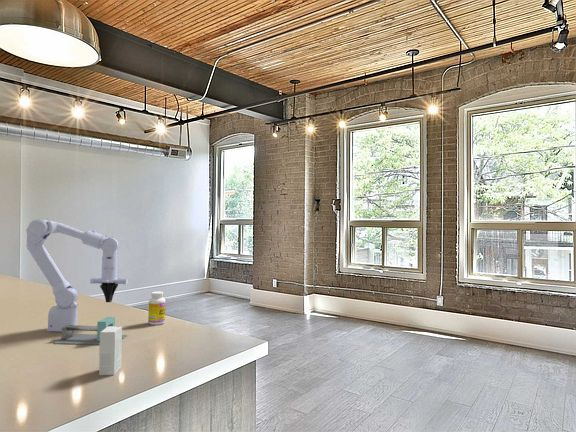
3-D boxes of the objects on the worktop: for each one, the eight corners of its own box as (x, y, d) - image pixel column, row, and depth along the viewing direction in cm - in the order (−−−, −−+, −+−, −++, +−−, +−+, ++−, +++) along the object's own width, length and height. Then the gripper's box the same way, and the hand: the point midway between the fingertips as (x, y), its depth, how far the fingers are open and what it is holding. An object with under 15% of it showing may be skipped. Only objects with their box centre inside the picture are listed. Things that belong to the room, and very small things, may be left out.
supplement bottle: (159, 325, 159) (160, 294, 159) (145, 324, 160) (145, 293, 160) (168, 321, 165) (168, 291, 165) (153, 320, 166) (154, 290, 167)
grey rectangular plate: (53, 343, 134) (53, 342, 134) (72, 334, 145) (72, 333, 145) (112, 345, 133) (112, 344, 133) (127, 335, 144) (127, 335, 144)
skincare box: (106, 367, 113) (107, 326, 113) (121, 367, 114) (122, 326, 114) (98, 375, 107) (99, 332, 107) (114, 375, 108) (115, 331, 108)
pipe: (61, 340, 137) (61, 326, 137) (68, 337, 141) (68, 323, 141) (116, 342, 137) (116, 327, 137) (121, 338, 141) (121, 324, 141)
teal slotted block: (96, 341, 135) (97, 321, 136) (106, 335, 142) (107, 316, 142) (105, 341, 135) (105, 321, 135) (114, 335, 142) (115, 316, 142)
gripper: (86, 268, 153) (85, 303, 152) (123, 269, 152) (122, 304, 152) (95, 266, 160) (95, 299, 159) (130, 267, 159) (130, 300, 159)
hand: (108, 301), depth 156 cm, fingers closed
